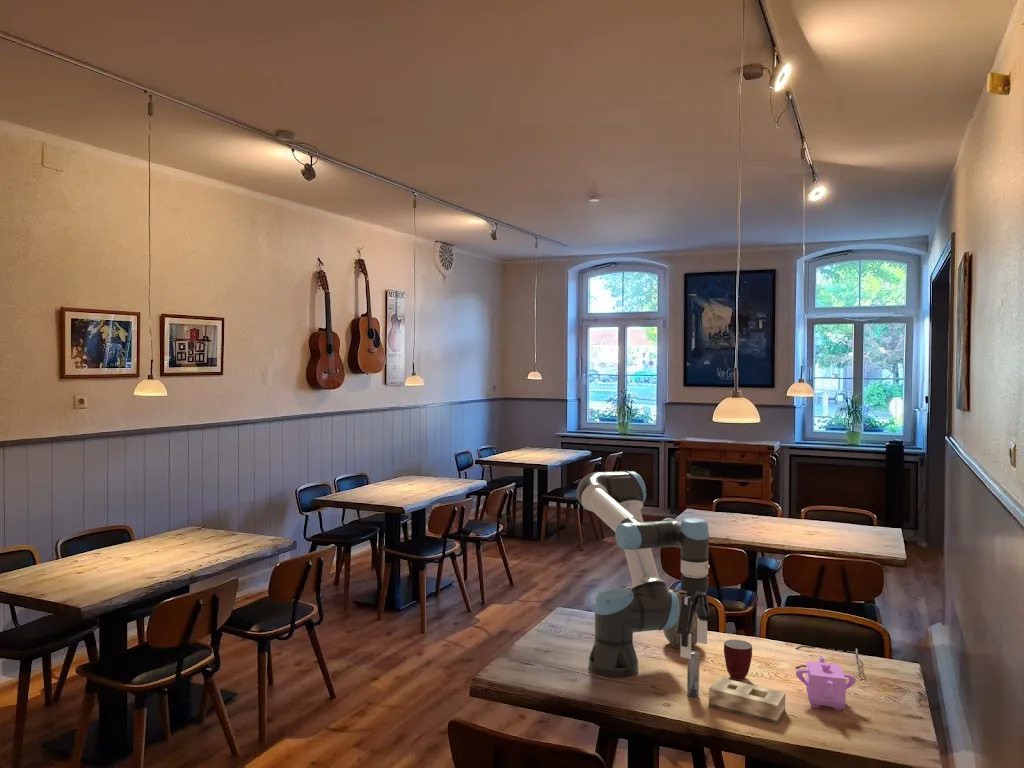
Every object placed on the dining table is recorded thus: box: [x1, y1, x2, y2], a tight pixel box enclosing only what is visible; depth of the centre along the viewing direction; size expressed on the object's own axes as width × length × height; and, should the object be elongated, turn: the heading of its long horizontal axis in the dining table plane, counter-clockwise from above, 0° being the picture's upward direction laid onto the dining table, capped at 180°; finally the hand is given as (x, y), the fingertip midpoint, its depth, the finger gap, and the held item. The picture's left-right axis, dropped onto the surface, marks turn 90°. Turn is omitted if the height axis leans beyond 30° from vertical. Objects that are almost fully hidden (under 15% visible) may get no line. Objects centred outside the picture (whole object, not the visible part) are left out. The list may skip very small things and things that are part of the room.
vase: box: [662, 590, 699, 649], centre depth 243 cm, size 13×13×18 cm
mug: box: [723, 639, 753, 681], centre depth 216 cm, size 11×8×10 cm
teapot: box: [795, 655, 857, 711], centre depth 201 cm, size 15×13×11 cm
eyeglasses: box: [794, 645, 862, 677], centre depth 230 cm, size 18×19×4 cm
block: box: [708, 676, 786, 725], centre depth 197 cm, size 18×9×5 cm, turn 57°
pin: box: [686, 650, 700, 699], centre depth 205 cm, size 3×3×12 cm
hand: (694, 650), depth 205 cm, fingers open, 13 cm apart
